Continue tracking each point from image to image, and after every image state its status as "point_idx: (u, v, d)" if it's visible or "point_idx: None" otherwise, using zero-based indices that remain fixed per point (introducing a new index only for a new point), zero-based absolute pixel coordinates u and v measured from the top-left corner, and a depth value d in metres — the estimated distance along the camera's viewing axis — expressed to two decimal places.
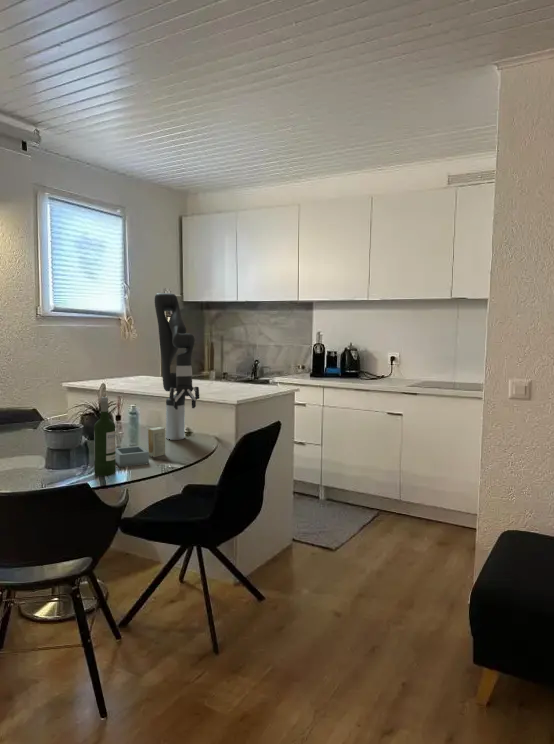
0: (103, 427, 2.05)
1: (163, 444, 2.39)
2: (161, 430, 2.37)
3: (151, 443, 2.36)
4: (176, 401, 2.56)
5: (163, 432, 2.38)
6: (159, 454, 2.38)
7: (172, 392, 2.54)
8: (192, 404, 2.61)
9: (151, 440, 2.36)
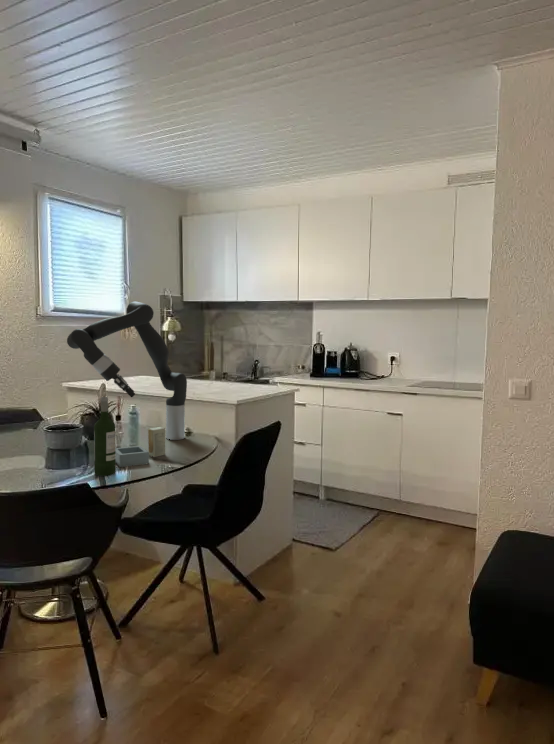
0: (103, 427, 2.05)
1: (163, 444, 2.39)
2: (161, 430, 2.37)
3: (151, 443, 2.36)
4: None
5: (163, 432, 2.38)
6: (159, 454, 2.38)
7: None
8: None
9: (151, 440, 2.36)
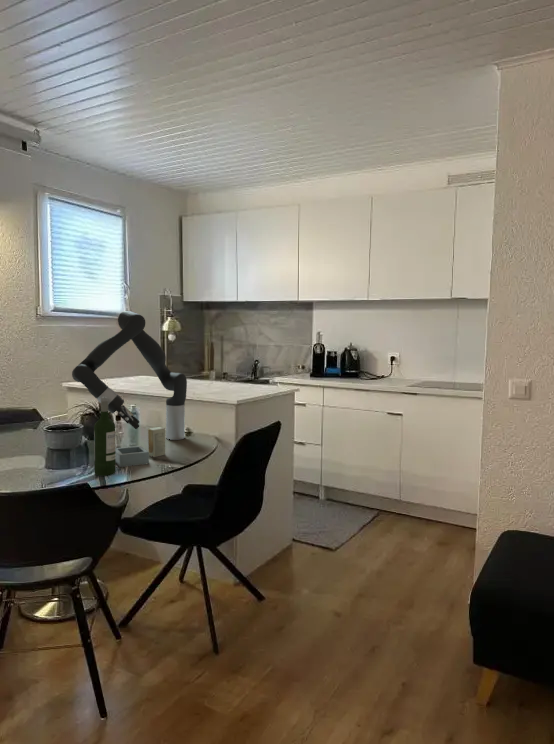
0: (103, 427, 2.05)
1: (163, 444, 2.39)
2: (161, 430, 2.37)
3: (151, 443, 2.36)
4: None
5: (163, 432, 2.38)
6: (159, 454, 2.38)
7: None
8: None
9: (151, 440, 2.36)
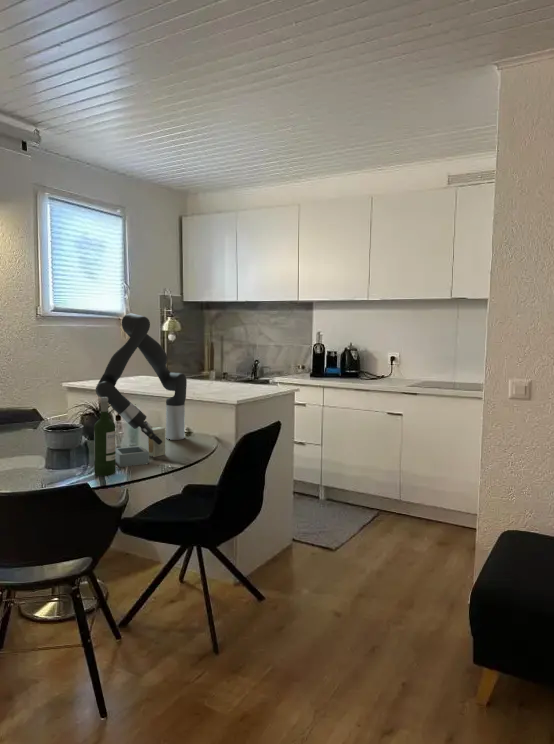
0: (103, 427, 2.05)
1: (163, 444, 2.39)
2: (161, 430, 2.37)
3: (151, 443, 2.36)
4: None
5: (163, 432, 2.38)
6: (159, 454, 2.38)
7: None
8: None
9: (151, 440, 2.36)
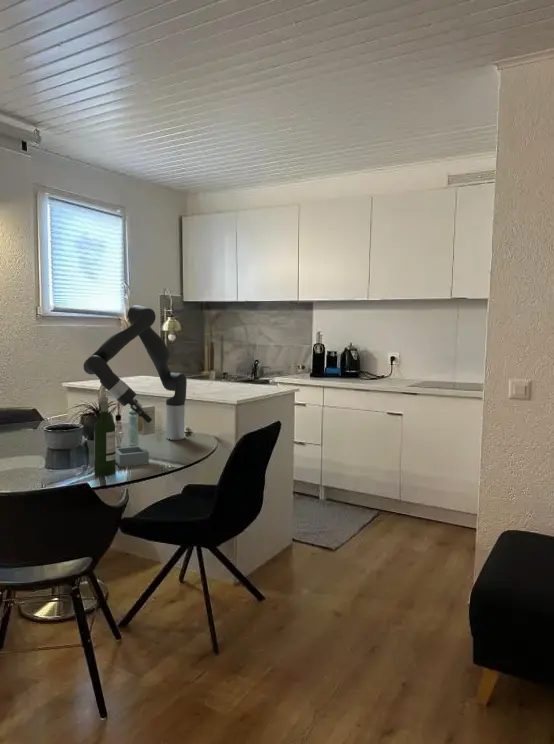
0: (103, 427, 2.05)
1: (152, 422, 2.33)
2: (151, 408, 2.31)
3: (140, 421, 2.30)
4: None
5: (153, 410, 2.32)
6: (148, 433, 2.32)
7: None
8: None
9: (141, 418, 2.30)
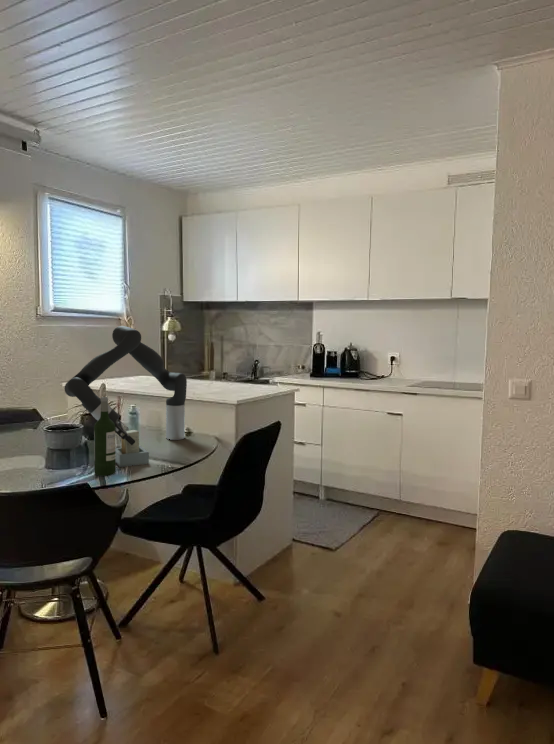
0: (103, 427, 2.05)
1: (136, 448, 2.26)
2: (134, 433, 2.25)
3: (124, 447, 2.24)
4: None
5: (137, 435, 2.26)
6: None
7: None
8: None
9: (124, 444, 2.24)
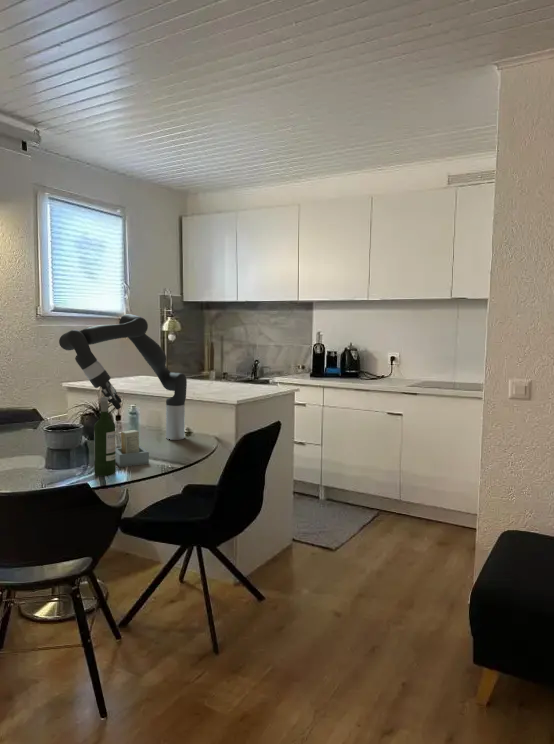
0: (103, 427, 2.05)
1: (136, 448, 2.26)
2: (134, 433, 2.25)
3: (124, 447, 2.24)
4: None
5: (137, 435, 2.26)
6: None
7: None
8: None
9: (124, 444, 2.24)
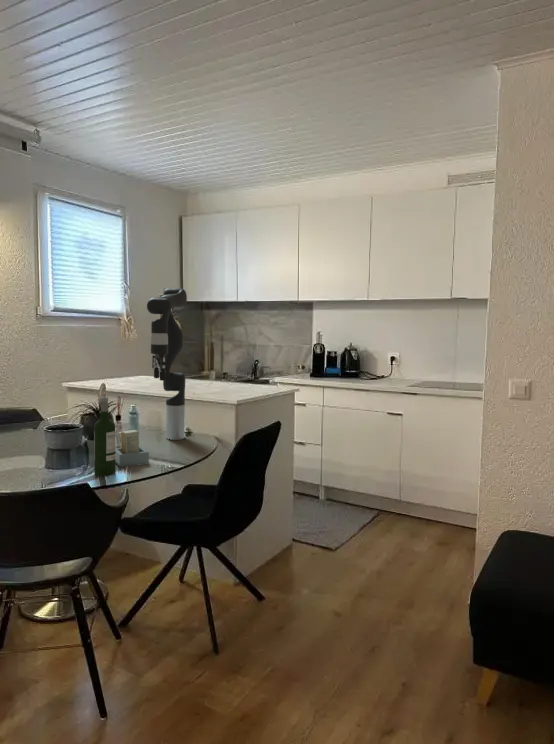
0: (103, 427, 2.05)
1: (136, 448, 2.26)
2: (134, 433, 2.25)
3: (124, 447, 2.24)
4: (153, 369, 2.45)
5: (137, 435, 2.26)
6: None
7: (152, 359, 2.46)
8: None
9: (124, 444, 2.24)
